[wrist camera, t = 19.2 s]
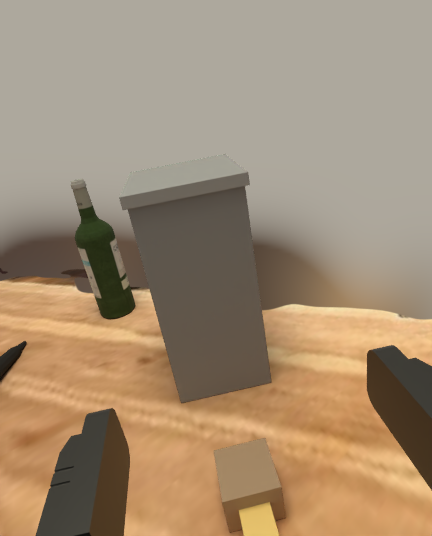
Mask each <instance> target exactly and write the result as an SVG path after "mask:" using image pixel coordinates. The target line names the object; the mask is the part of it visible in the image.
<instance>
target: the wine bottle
mask: <svg viewBox="0 0 432 536" xmlns="http://www.w3.org/2000/svg"><path fill="white" fill-rule="evenodd" d="M71 187H72V189H73V192H74V196H75V199H76V202H77V206H78V209H79V213H80V216H81V224H80V225H79V227H78V229H77V231H76V235H75V241H76V244H77V247H78V250H79V252H80V255H81V258H82V261H83V264H84V267H85V270H86V273H87V275H88V278H89V281H90V284H91V287H92V289H93V293H94V296H95V298H96V301H97V304H98V307H99V310H100V313H101V315H102V316H103V317H104V318H107V319H115V318H119V317H123V316H125V315H127V314H128V313H130V312H131V311H132V310H133V309H134V307H135V302H134V298H133V295H132V292H131V288H130V285H129V282H128V279H127V275H126V272H125V268H124V265H123V262H122V258H121V255H120V252H119V248H118V245H117V242H116V238H115V235H114V231H113V229H112V227H111V226H110V225H109V224H108V223H106V222H104V221H103V220H100V219H99V218H98V217H97V216H96V214H95V211H94V208H93V205H92V202H91V200H90V197H89V194H88V191H87V188H86V184H85V181H84V180H83V179H78V180H74V181H71Z"/></svg>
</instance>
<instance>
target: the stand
mask: <svg viewBox="0 0 432 536" xmlns="http://www.w3.org/2000/svg"><path fill="white" fill-rule="evenodd" d="M249 184H250V183H249V175H248V172H247V171H246V170H245V169H244V168H242V167H241V166H240V165H238V164H237V163H236V162H235V161H233V160H232V159H231V158H229V157H228V156H227V155H226V154H223V155H218V156H213V157H208V158H203V159H198V160H192V161H187V162H182V163H177V164H172V165H167V166H162V167H157V168H151V169H146V170H141V171H136V172H131V173H130V175H129V177H128V179H127V181H126V183H125V186H124V188H123V190H122V192H121V195H120V197H119V199H120V202H121V206H122V209H123V210H126V209H128V212H129V216H130V219H131V223H132V227H133V230H134V234H135V238H136V241H137V245H138V248H139V252H140V256H141V259H142V263H143V267H144V270H145V274H146V277H147V281H148V285H149V288H150V292H151V296H152V299H153V303H154V306H155V310H156V314H157V317H158V321H159V325H160V328H161V332H162V335H163V339H164V343H165V346H166V350H167V354H168V357H169V361H170V364H171V368H172V372H173V375H174V379H175V383H176V386H177V390H178V393H179V397H180V401H181V403H184V402H188V401H193V400H197V399H202V398H206V397H210V396H215V395H219V394H223V393H228V392H232V391H236V390H241V389H245V388H249V387H254V386H258V385H262V384H267V383H271V375H270V368H269V361H268V353H267V346H266V338H265V331H264V324H263V316H262V309H261V301H260V294H259V287H258V280H257V272H256V265H255V257H254V250H253V243H252V235H251V228H250V220H249V213H248V205H247V199H246V191H245V186H246V185H249Z"/></svg>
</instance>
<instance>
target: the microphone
mask: <svg viewBox="0 0 432 536" xmlns="http://www.w3.org/2000/svg"><path fill="white" fill-rule="evenodd" d="M26 343H27V342H26V341H24V342H22V343H21V344H19V345H18V346H15V347H13V348H11V349H9V350H8V351H7V352H6V353H4V354H3V355H2V356H0V380H1V378H2V377H1V376H2V375H3V374H4V373H5V372H6V370H7V369H8V368H9V367H10V366H11V365H12V364H13V362H14V361H15V360H16V359H17V358H18V357H19V356H20V354H21V353H22V351H21V350H22V349H23V347H24V346H25V345H26Z"/></svg>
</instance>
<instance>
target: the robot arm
mask: <svg viewBox="0 0 432 536" xmlns="http://www.w3.org/2000/svg"><path fill="white" fill-rule="evenodd" d="M367 391H368V395H369V398H370V401H371V403H372V405H373V407H374V409H375V410H376V411H377V413H378V414H379V416H380V417H381V419H382V420H383V421H384V423H385V424H386V426H387V427H388V429H389V430H390V431H391V433H392V434H393V436H394V437H395V439H396V440H397V441H398V443H399V444H400V446H401V447H402V448H403V450H404V451H405V453H406V454H407V456H408V457H409V458H410V460H411V461H412V463H413V464H414V466H415V467H416V468H417V470H418V471H419V473H420V474H421V476H422V477H423V478H424V480H425V481H426V483H427V484H428V486H429V487H430V488H431V490H432V366H430V365H428V364H426V363H424V362H423V361H421V360H419V359H417V358H412V359H408V358H407V357H406V356H405V355H404V354H403V353H402V352H401V351H400V350H399V349H398V348H397V347H395V346H393V345H391V346H386V347H382V348H377V349H373V350H369V351H368V353H367ZM129 468H130V455H129V448H128V444H127V441H126V438H125V436H124V433H123V430H122V428H121V425H120V422H119V420H118V417H117V415H116V412H115V410H114V409H113V408H111V409H106V410H102V411H98V412H93V413H89V414H87V415H86V418H85V422H84V426H83V430H82V434H79V435H74V436H71V437H70V439H69V440H68V442H67V443H66V445H65V446H64V447H63V449H62V450H61V452H60V454H59V457H58V461H57V464H56V467H55V474H53V478H52V481H51V485H50V486H51V488H50V489H49V492H48V495H47V498H46V502H45V505H44V509H43V512H42V516H41V519H40V522H39V526H38V529H37V533H36V536H124V525H125V514H126V502H127V491H128V479H129Z"/></svg>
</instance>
